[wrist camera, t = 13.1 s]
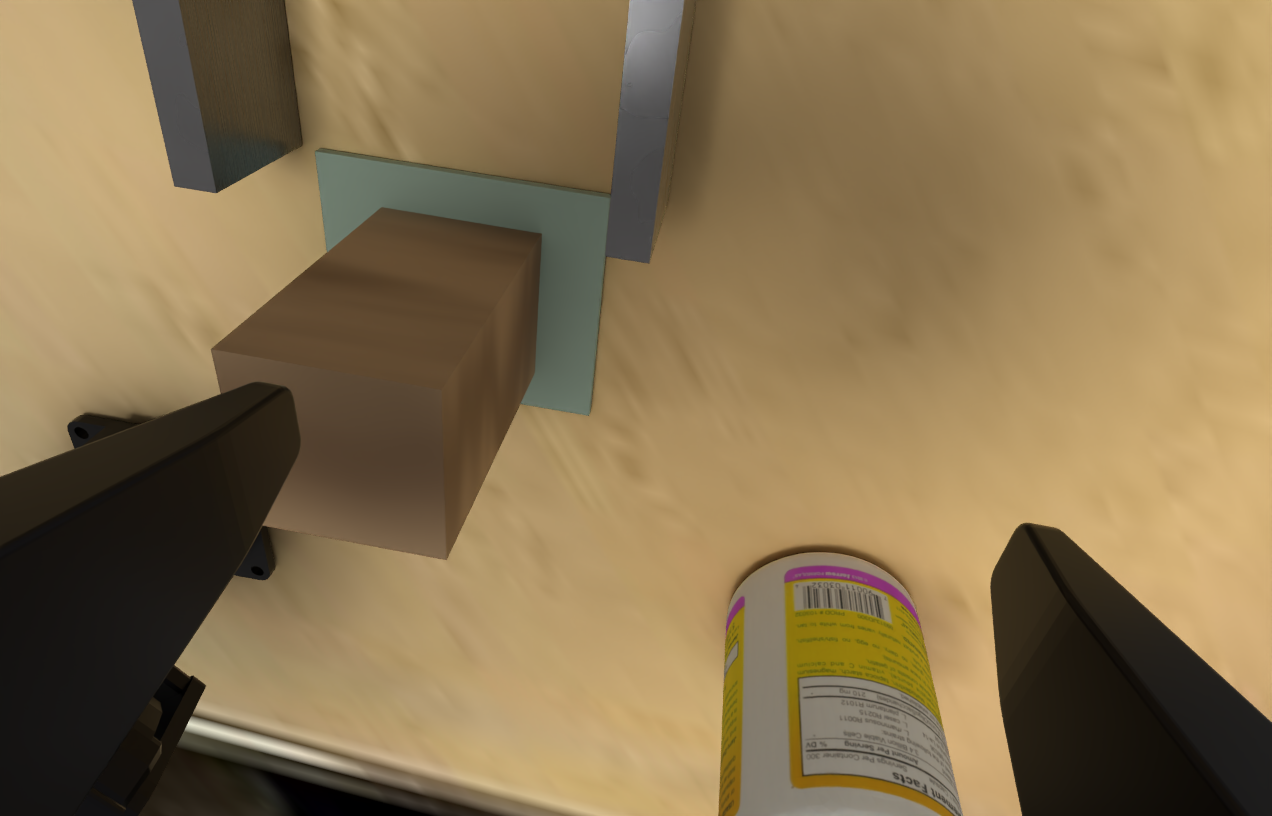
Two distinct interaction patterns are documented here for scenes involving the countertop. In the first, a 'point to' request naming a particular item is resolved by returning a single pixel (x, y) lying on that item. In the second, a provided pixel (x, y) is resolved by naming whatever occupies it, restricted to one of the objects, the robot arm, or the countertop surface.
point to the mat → (553, 211)
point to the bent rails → (269, 122)
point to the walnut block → (396, 375)
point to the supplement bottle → (830, 697)
